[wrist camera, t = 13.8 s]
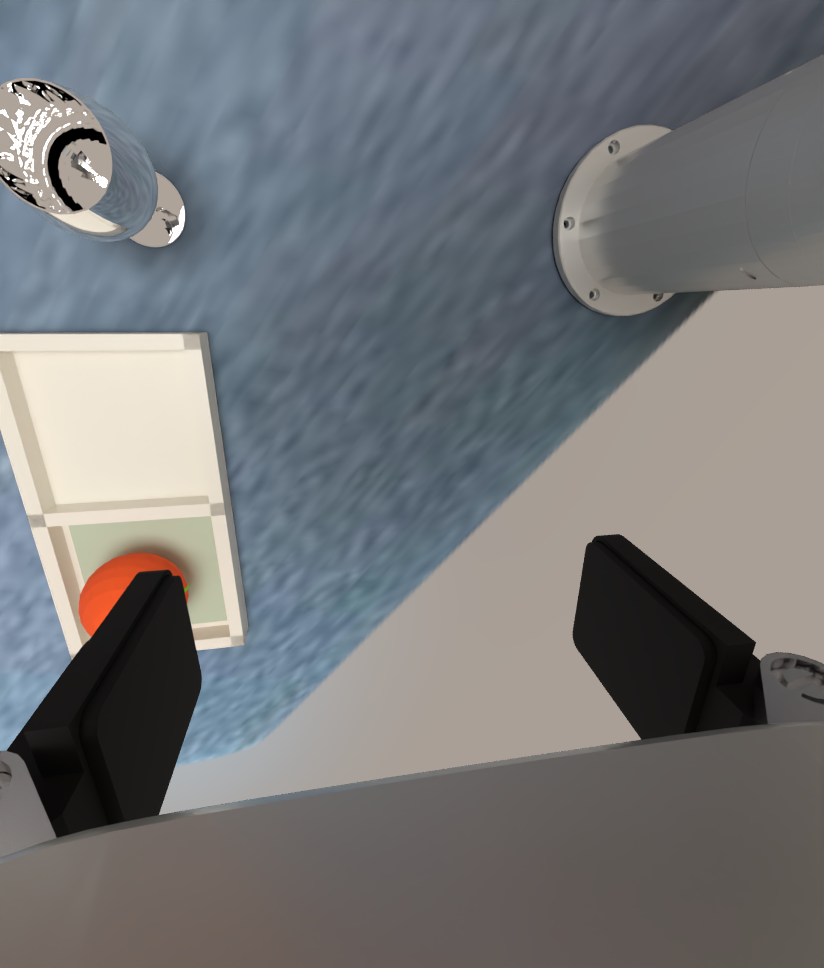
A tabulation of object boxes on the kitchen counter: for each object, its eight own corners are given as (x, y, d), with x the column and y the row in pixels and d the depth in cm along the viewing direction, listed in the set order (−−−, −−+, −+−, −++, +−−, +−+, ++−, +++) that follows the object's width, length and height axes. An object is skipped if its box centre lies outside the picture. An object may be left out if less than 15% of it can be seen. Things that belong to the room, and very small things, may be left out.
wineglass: (181, 274, 31) (107, 255, 20) (87, 231, 30) (-50, 184, 19) (208, 186, 30) (144, 114, 19) (111, 135, 28) (-23, 23, 17)
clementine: (182, 517, 36) (152, 563, 30) (226, 586, 39) (207, 642, 32) (84, 557, 36) (31, 613, 29) (135, 624, 38) (97, 689, 32)
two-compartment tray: (207, 332, 33) (198, 333, 30) (248, 626, 42) (244, 644, 39) (-3, 332, 31) (-30, 334, 28) (87, 643, 39) (73, 664, 37)
